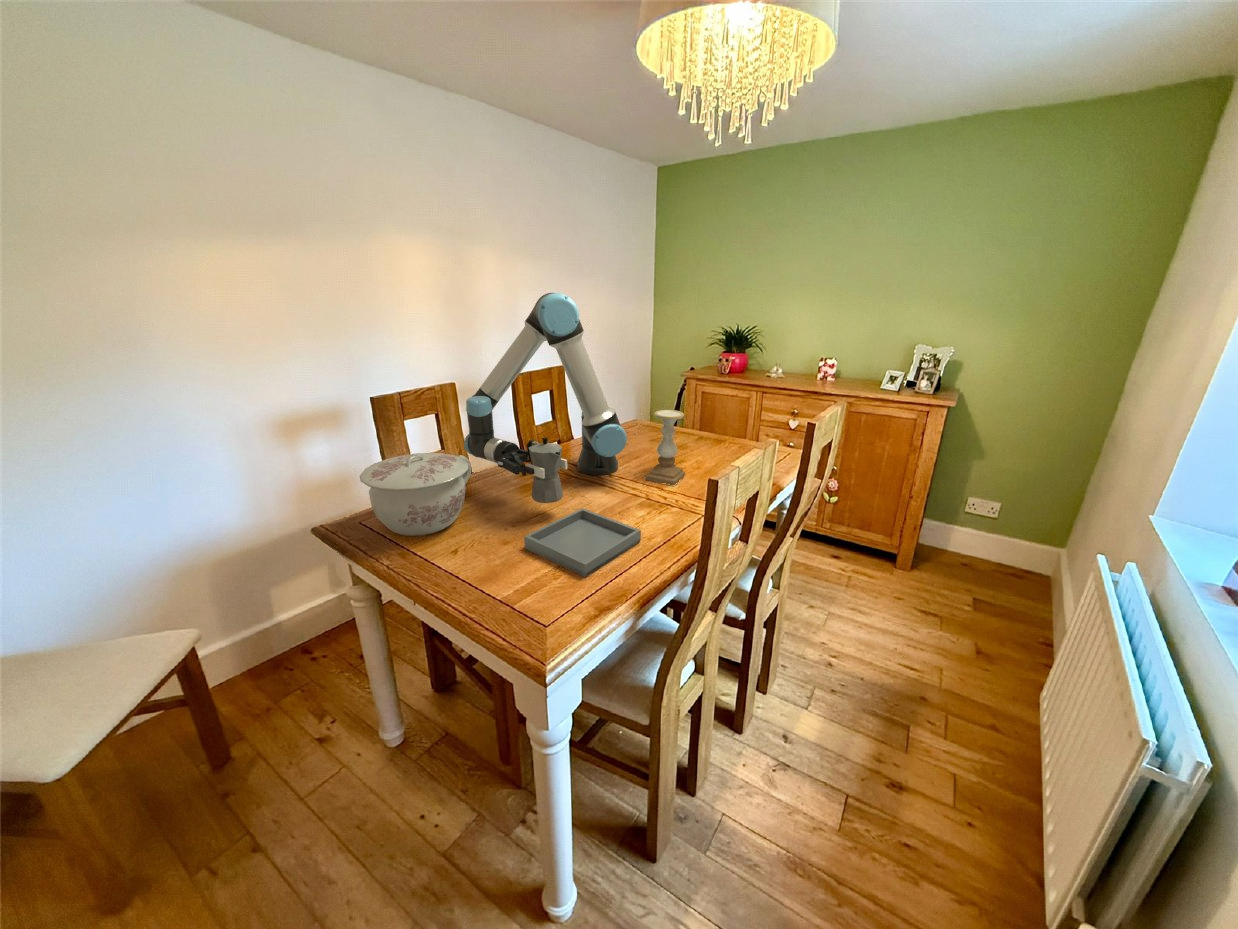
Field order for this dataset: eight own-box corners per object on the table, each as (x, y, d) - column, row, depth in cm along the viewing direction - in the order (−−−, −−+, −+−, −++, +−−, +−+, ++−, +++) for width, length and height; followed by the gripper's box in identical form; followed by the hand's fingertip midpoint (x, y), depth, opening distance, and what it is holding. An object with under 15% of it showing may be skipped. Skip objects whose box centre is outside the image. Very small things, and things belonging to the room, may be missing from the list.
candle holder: (645, 480, 171) (647, 414, 162) (657, 470, 180) (660, 407, 172) (674, 486, 166) (678, 418, 158) (685, 476, 175) (690, 411, 167)
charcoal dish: (582, 519, 142) (582, 508, 140) (640, 541, 130) (640, 530, 128) (524, 548, 125) (524, 536, 124) (585, 577, 113) (585, 564, 112)
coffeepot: (574, 499, 139) (573, 439, 133) (547, 508, 133) (545, 446, 127) (543, 484, 150) (540, 428, 144) (516, 492, 144) (512, 434, 138)
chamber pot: (361, 555, 121) (346, 478, 114) (377, 509, 145) (366, 443, 138) (477, 540, 129) (471, 467, 122) (474, 499, 153) (468, 436, 146)
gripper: (529, 455, 158) (581, 471, 145) (475, 473, 142) (527, 493, 129) (527, 433, 155) (580, 447, 142) (472, 449, 140) (525, 466, 126)
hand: (555, 469), depth 136 cm, fingers closed on coffeepot, 8 cm apart
